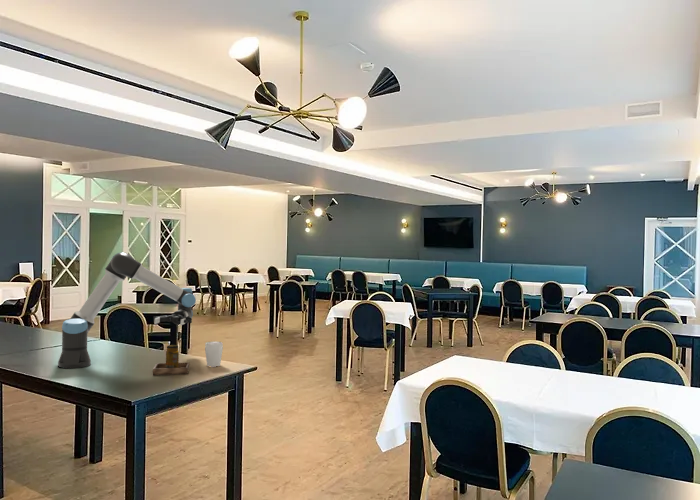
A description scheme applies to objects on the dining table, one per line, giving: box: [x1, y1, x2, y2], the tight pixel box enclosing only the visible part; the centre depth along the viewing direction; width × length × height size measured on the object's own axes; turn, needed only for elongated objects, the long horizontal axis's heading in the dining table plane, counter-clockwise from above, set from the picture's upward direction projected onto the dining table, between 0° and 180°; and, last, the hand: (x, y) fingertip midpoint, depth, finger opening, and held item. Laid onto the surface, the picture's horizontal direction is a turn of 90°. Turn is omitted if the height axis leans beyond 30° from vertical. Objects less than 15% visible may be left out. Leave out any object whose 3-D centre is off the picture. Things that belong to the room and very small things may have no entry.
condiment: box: [165, 344, 180, 368], centre depth 274 cm, size 7×8×12 cm
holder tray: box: [152, 362, 190, 376], centre depth 274 cm, size 16×13×3 cm
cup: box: [204, 340, 224, 368], centre depth 289 cm, size 9×9×12 cm
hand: (168, 321), depth 287 cm, fingers open, 13 cm apart
